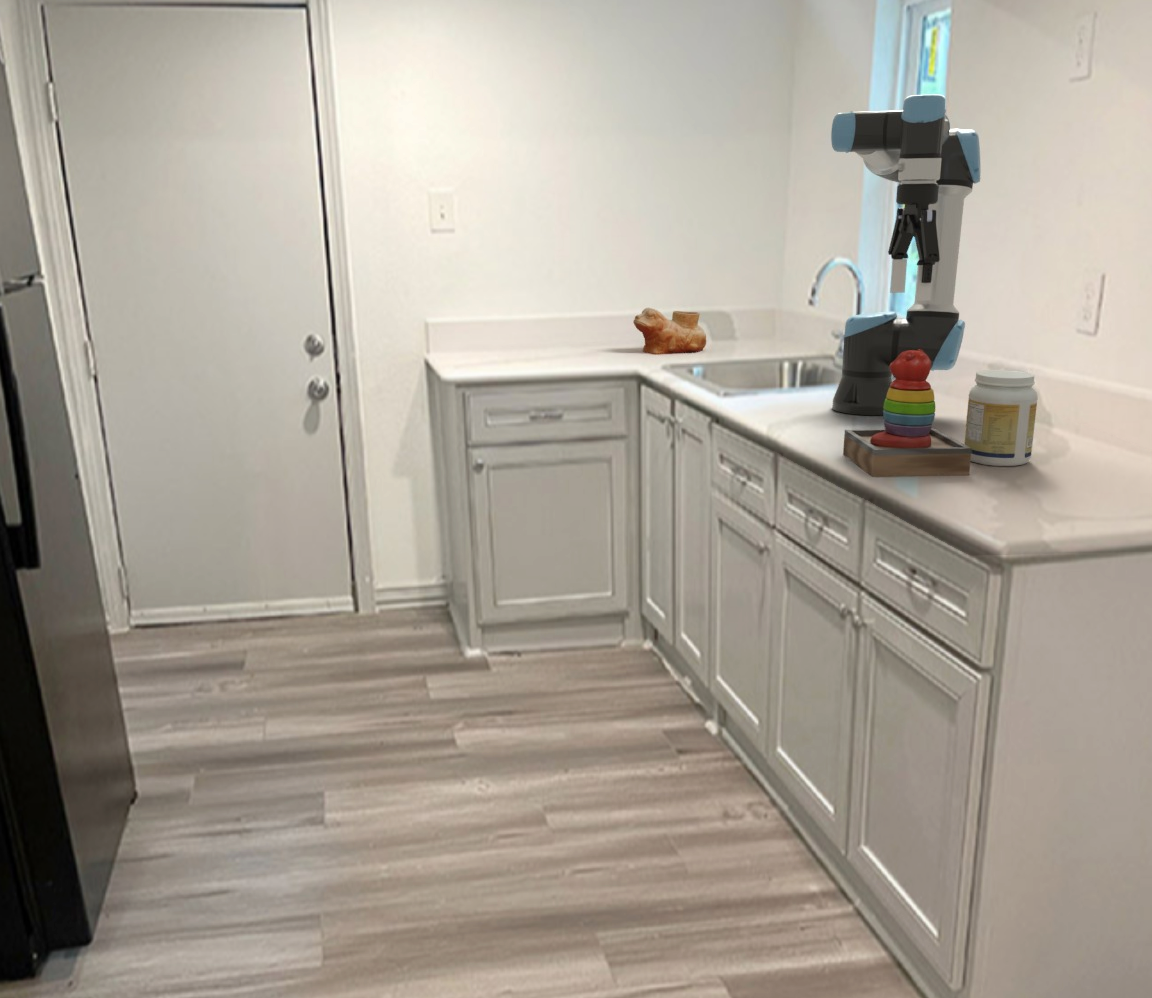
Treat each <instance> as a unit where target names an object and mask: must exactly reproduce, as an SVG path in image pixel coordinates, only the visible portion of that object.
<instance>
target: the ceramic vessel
mask: <svg viewBox="0 0 1152 998" xmlns="http://www.w3.org/2000/svg"><path fill="white" fill-rule="evenodd" d="M699 318H700V312H697V311H680V310H673V312H672V317H671V319H668V318H666V317H665V316H664V315H663V314H662V312H660V311H659V310H658V309H655V308H652V307H651V308H650V307H646V308H644V309H643V310H642V311H641V313H640V314H637V315H636V316H634V319H633V324H634V326H635V328H636V329H637V330H638V331H639V332H641V333H642V335H643V338H644V346H643V347H642V352H644V353H647V354H650V355H654V356H655V355H658V356H659V355H660V356H661V355H675V354H696V353H699V352H703V351H704V348H705V347H706V345H707V335H706V333H705V331H704V330H703V328H702V327H701V326H699Z"/></svg>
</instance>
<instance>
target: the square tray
mask: <svg viewBox="0 0 1152 998" xmlns="http://www.w3.org/2000/svg"><path fill="white" fill-rule="evenodd" d="M884 431H886V430H885V428H873V429H872V428H871V429H870V428H869V429H867V428H866V429H865V428H862V429H859V428H858V429H856V428H855V429H844V435H843V436H844V437H843V448H842V450H843V453H842V454H843V456H845V457H846V458H847V459H848V460H850V461H851V462H852V463H854V464H855V465H857V466H858V467H860V469H862V470H863V471H864V472H866V473H867V474H868V475H870V476H871V477H877V478H879V477H917V476H918V477H923V476H924V477H925V476H926V477H927V476H928V477H929V476H932V477H934V476H938V477H939V476H969V475H970V468H971V461H970V460H971V450H972V448H970V447H968V446H966V445H964V444H965V443H962V442H961V441H959V440H957V439H955V438H953V437H951V436H950V435H947V434H946V433H944V432H942V431H940V430H938V429H936V428H932V427H931V430H930V432H929V435H930V437H931V445H930V446H928V447H925V448H893V447H885V446H879V445H874V444H872V443H871V442H870V440H871V437H872V436H873V435H875V434H877V433H880V432H884Z"/></svg>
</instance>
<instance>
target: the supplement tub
mask: <svg viewBox="0 0 1152 998" xmlns="http://www.w3.org/2000/svg"><path fill="white" fill-rule="evenodd" d="M974 382H975V385H974V386H972V387H971V388H970V390H969V394H968V402H967V410H966V411H967V412H966V423H965V432H964V434H965V435H964V443H963V444H964V445H966V446H968V447H970V448H972V450H971V460H970V462H972V463H976V464H979V465H985V466H992V467H1014V466H1015V467H1017V466H1022V465H1025V464H1027V463H1028V462H1029V461H1030V460H1031V457H1032V451H1033V442H1034V433H1035V423H1036V415H1037V405H1038V392H1037V391H1036V389H1035V388H1034V387H1033V385H1035V374H1034V373H1031V372H1028V371H1021V370H1010V369H1009V370H1008V369H984V370H979V371H977V372H976V374H975V378H974Z"/></svg>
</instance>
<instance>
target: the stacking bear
mask: <svg viewBox="0 0 1152 998" xmlns="http://www.w3.org/2000/svg"><path fill="white" fill-rule="evenodd" d="M930 369H931V361H930V359H929V357H928V356H927V355H926V354H925V353H924V352H923V350H921V349H918V351H914V350H908V351H904V352H902V353H901V354H900V355H899V356H898V357H897V358H896V359H895V360H894V361H893V362H892V363H891V364H890V371H891V373H892V377H893V378H895V379H893V380H892V383H891V384H890V386H891V387H890V388H889V390H888V392H887V396H886V397H887V398H886V399H885V402H884V407H883V408H884V410H883V420H884V422H883V423H884V429H885V430H886V431H884V432H880V433H877V434H875V435H873V436H872V437H871V440H870V442H871V443H872V444H874V445H879V446H885V447H893V448H925V447H928V446H930V445H931V437H930V435H929V432H930V430H931V428H932V426H933V423H934V421H935V418H936V417H935V416H936V401H935V393H934V391H935V390H934V389H933V388H932V386H931V384H930V382H928V381H927V379H928V376H929V374H930V372H931V370H930Z"/></svg>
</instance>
